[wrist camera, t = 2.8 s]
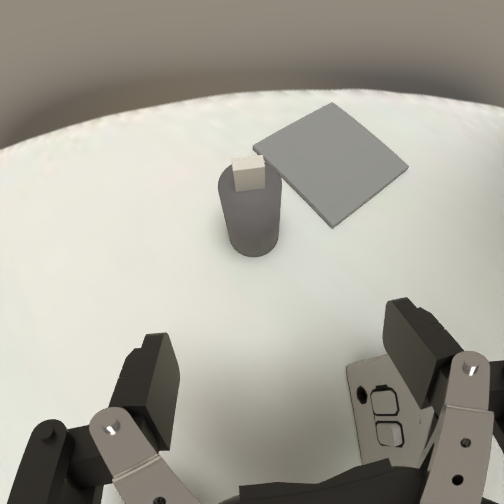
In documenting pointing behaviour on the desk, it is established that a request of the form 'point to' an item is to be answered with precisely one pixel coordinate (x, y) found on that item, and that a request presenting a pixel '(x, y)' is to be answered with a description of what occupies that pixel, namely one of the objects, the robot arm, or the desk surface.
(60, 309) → the desk surface
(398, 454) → the electrical switch
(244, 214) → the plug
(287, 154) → the mat
